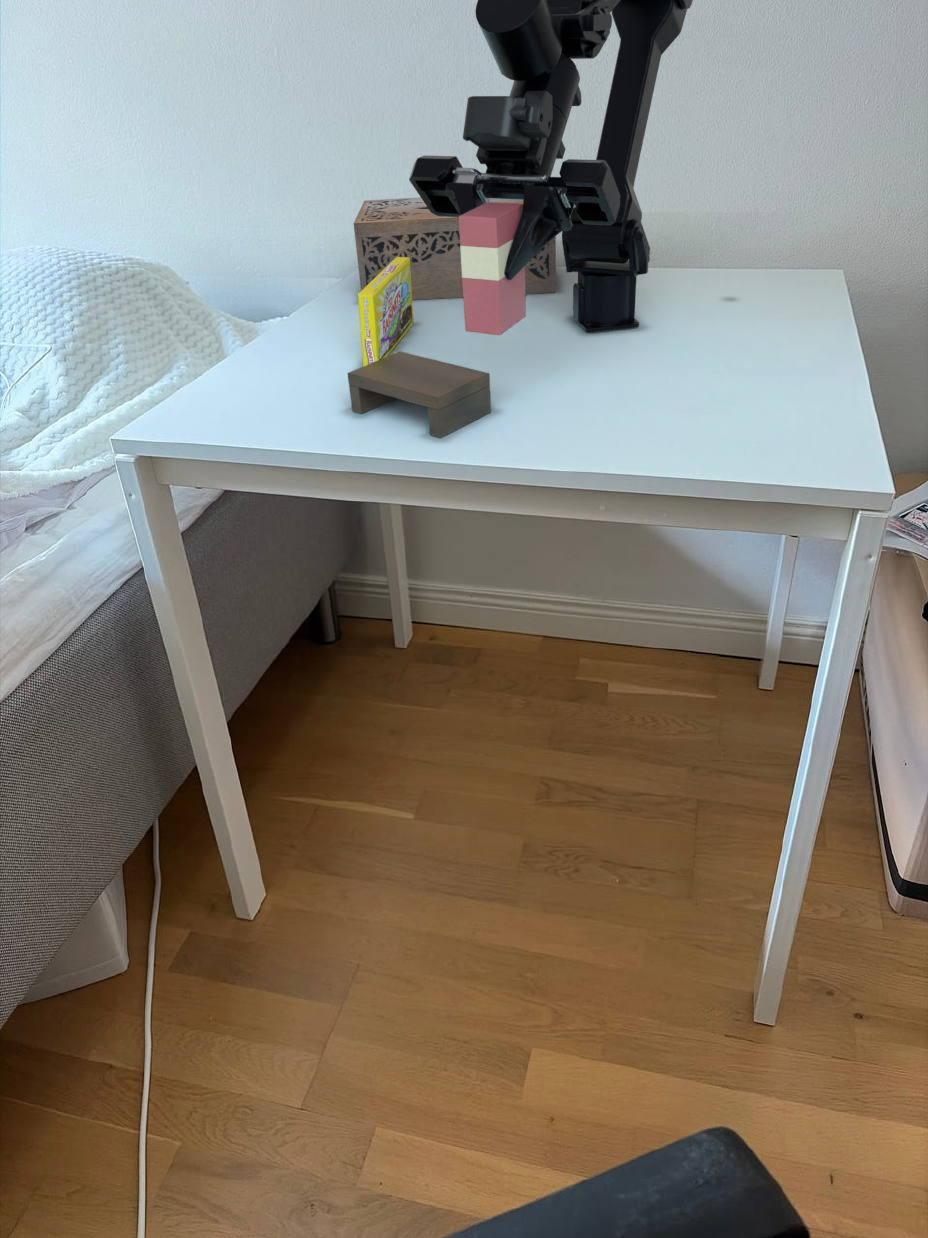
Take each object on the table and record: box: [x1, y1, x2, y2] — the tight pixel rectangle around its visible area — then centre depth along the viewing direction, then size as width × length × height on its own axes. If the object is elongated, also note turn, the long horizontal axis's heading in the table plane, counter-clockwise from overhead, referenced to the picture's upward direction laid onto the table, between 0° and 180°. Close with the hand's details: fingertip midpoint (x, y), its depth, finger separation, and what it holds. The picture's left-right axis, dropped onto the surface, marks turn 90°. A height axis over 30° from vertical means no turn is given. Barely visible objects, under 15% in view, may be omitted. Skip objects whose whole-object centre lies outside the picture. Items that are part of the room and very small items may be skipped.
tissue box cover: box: [353, 196, 557, 301], centre depth 131 cm, size 26×14×10 cm, turn 89°
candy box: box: [357, 257, 414, 367], centre depth 110 cm, size 16×2×8 cm, turn 168°
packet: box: [459, 202, 527, 336], centre depth 86 cm, size 6×4×10 cm, turn 152°
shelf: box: [347, 351, 492, 439], centre depth 94 cm, size 8×12×4 cm, turn 49°
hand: (487, 275), depth 85 cm, fingers closed on packet, 4 cm apart
